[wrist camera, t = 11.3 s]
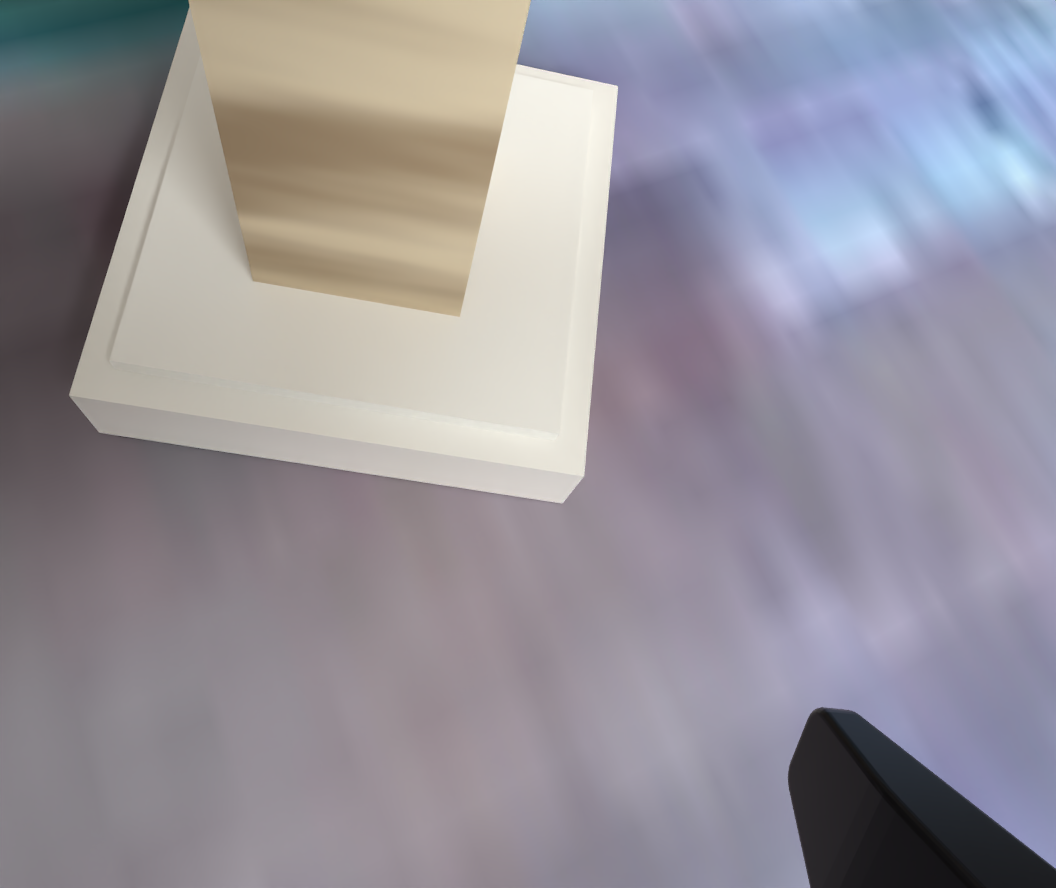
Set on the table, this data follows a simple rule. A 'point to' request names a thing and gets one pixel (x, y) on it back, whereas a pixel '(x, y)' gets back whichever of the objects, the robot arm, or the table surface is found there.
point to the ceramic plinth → (363, 315)
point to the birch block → (361, 137)
